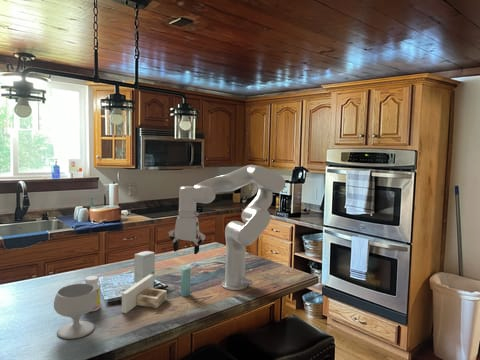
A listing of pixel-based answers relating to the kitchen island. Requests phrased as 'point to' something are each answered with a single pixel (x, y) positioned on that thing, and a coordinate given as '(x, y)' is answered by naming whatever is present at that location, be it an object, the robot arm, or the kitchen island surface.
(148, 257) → the skincare box
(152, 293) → the light wooden square frame
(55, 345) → the kitchen island surface
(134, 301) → the wall
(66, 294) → the chalice
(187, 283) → the dowel
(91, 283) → the supplement bottle
